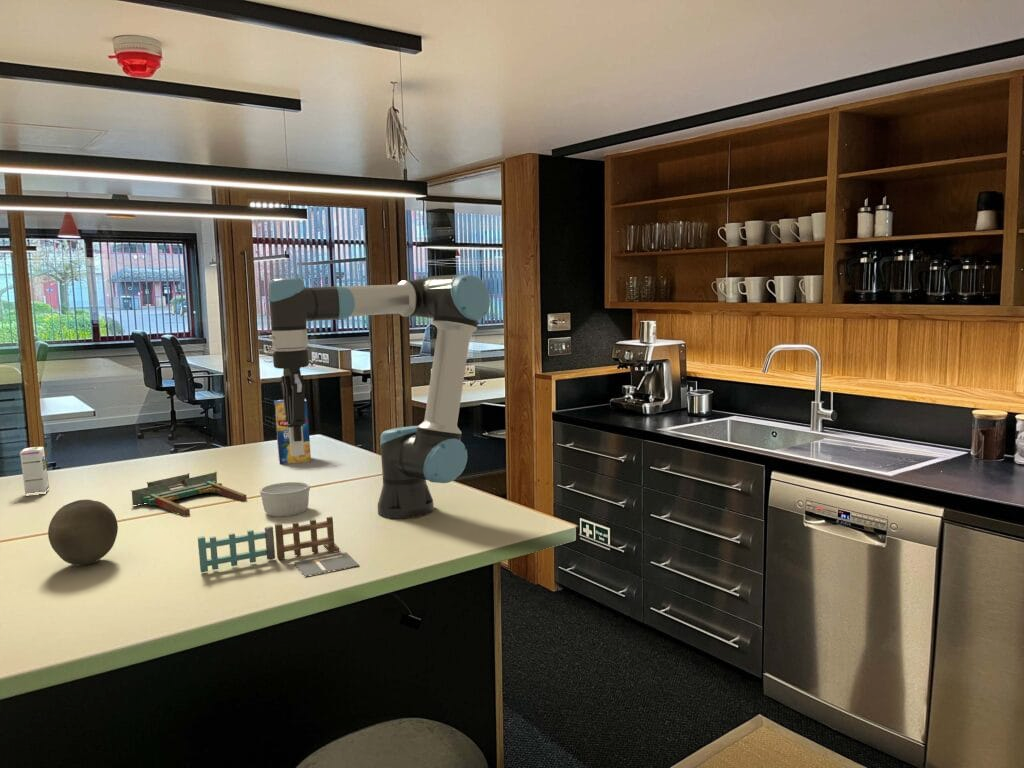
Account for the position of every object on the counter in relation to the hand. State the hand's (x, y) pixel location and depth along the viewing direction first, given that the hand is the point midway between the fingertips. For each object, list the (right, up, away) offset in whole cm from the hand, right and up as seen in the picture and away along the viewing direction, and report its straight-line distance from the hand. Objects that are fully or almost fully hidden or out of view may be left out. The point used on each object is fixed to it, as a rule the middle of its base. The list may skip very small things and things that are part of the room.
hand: (297, 454), depth 176 cm
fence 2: (0, -24, +7) cm, 25 cm away
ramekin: (-15, -20, +43) cm, 50 cm away
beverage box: (-30, -12, +108) cm, 113 cm away
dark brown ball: (-49, -26, +5) cm, 56 cm away
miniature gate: (-48, -20, +58) cm, 78 cm away
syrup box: (-102, -19, +73) cm, 126 cm away
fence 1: (-13, -24, 0) cm, 28 cm away
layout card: (+7, -24, -1) cm, 25 cm away
